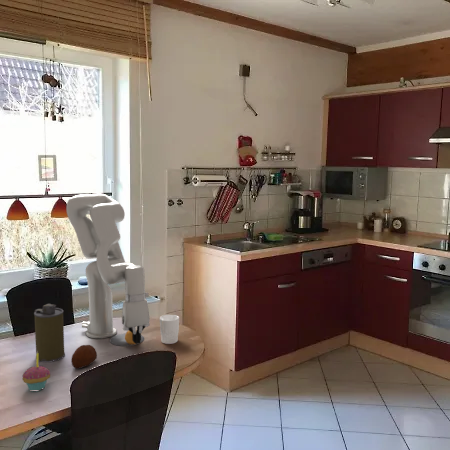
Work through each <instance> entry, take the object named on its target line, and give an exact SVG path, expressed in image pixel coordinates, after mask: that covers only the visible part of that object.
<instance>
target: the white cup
mask: <svg viewBox="0 0 450 450" xmlns="http://www.w3.org/2000/svg"><path fill="white" fill-rule="evenodd" d="M159 328H160V329H159V331H160V340H161V343H163V344H166V345H170V344H172V345H173V344H175V343H177V342H178V340H179V339H178V337H179V331H180V330H179V329H180V316H178V315H176V314H162V315H160V316H159Z"/></svg>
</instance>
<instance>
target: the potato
mask: <svg viewBox="0 0 450 450" xmlns="http://www.w3.org/2000/svg"><path fill="white" fill-rule="evenodd" d="M97 358H98V353H97V351H96V348H95V347H94V346H93V345H91V344H83V345H80V346H78V347H77V348H76V349H75V350H74V352H73V353H72V356H71V365H72V367H73V368H74V369H82V368H85V367H88V366H90V365H92V364H93V363H94V362H95V361H96V360H97Z"/></svg>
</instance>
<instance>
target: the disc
mask: <svg viewBox="0 0 450 450" xmlns="http://www.w3.org/2000/svg"><path fill="white" fill-rule="evenodd" d="M126 333H127V332H126ZM126 333H119V334H115V335H113V336H111V337H110V339H109V343H110V344H112V345H114V346H118V347H131V346H136V345H139V344H141V343H143V342H144V341H145V336H144V335H142V334H141V340H140V343H138V344H134V345H131V344H128V343H127V342H126V340H125V334H126Z"/></svg>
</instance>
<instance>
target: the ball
mask: <svg viewBox="0 0 450 450" xmlns="http://www.w3.org/2000/svg"><path fill="white" fill-rule="evenodd" d="M136 331H137V329H136ZM125 340H126V342H127V343H128V344H131V345H132V346H135V345H134V344H136V343H134V342H133V339H132V332H131V331H126V334H125Z"/></svg>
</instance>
